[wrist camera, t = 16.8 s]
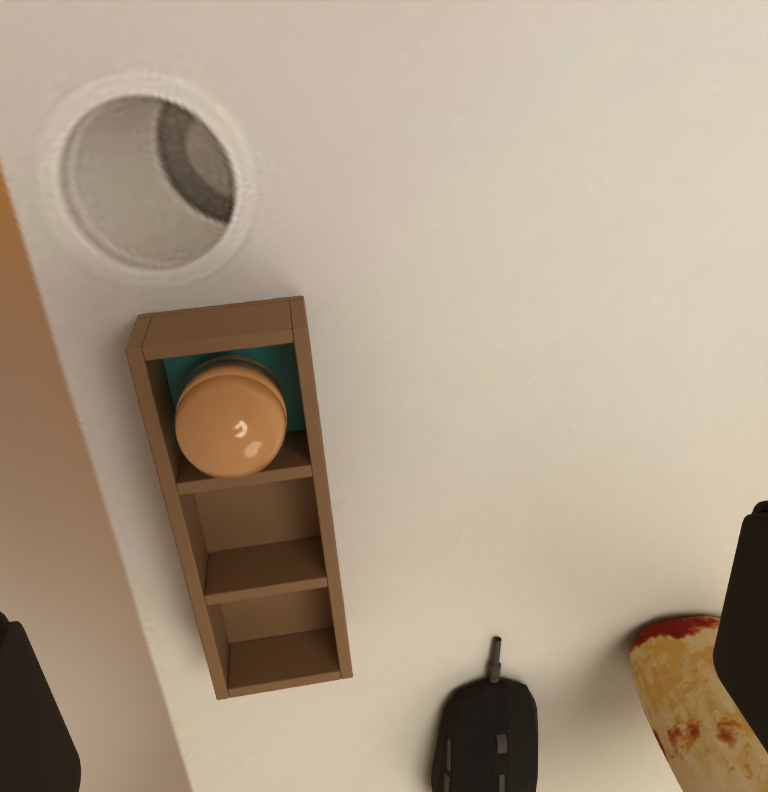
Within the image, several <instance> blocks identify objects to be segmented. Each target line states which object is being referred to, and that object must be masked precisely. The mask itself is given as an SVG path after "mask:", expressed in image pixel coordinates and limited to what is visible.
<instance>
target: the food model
mask: <svg viewBox="0 0 768 792" xmlns="http://www.w3.org/2000/svg"><path fill="white" fill-rule="evenodd" d="M720 619H721V618H717V617H711V616H698V617H685V618H678V619H671V620H667V621H663V622H660V623H656V624H652V625H651V626H649V627H648V628H646V629H645V630H643V631H641V632H640V633H639V635H638V637H637V639H636V641H635V643H634V645H633V646H632V648H631V650H630V664H631V669H632V674H633V678H634V681H635V685H636V688H637V692H638V695H639V698H640V701H641V704H642V707H643V710H644V713H645V715H646V717H647V720H648V722H649V724H650V726H651V728H652V730H653V733H654V735H655V737H656V739H657V741H658V743H659V745H660V747H661V749H662V751H663V753H664V755H665V757H666V759H667V761H668V763H669V765H670V767H671V769H672V771H673V773H674V775H675V777H676V779H677V781H678V783H679V785H680V786H681V788H682V790H683V792H768V753H767V752H766V750H765V749H764V747H763V746H762V744H761V743H760V741H759V740H758V738H757V736H756V735H755V733H754V732H753V730H752V729H751V727H750V726H749V724H748V723H747V721H746V720H745V718H744V717H743V715H742V714H741V712H740V711H739V709H738V707H737V706H736V704H735V703H734V701H733V700H732V698H731V697H730V695H729V694H728V692H727V691H726V689H725V688H724V686H723V685H722V683H721V681H720V680H719V678H718V676H717V673H716V671H715V667H714V663H713V649H714V645H715V641H716V636H717V632H718V627H719V623H720Z"/></svg>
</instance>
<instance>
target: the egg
mask: <svg viewBox="0 0 768 792" xmlns="http://www.w3.org/2000/svg"><path fill="white" fill-rule="evenodd" d="M174 427H175V436H176V439H177V442H178V445H179V448H180V450H181V451H182V453H183V455H184V456H185V458H186V459H187V460H188V461H189V462H190V463H191V464H192V465H193V466H194V467H196V468H197V469H198V470H200V471H201V472H203V473H205V474H207V475H209V476H212V477H215V478H219V479H227V480H231V479H241V478H246V477H248V476H251V475H254V474H256V473H257V472H259V471H261V470H262V469H264V468H265V467H267V466H268V465H269V464H270V463H271V462H272V461H273V460H274V458H275V457H276V456H277V454H278V453H279V451H280V449H281V447H282V445H283V443H284V440H285V435H286V429H287V415H286V400H285V395H284V392H283V388H282V386H281V384H280V382H279V380H278V378H277V377H276V376H275V375H274V373H273V372H272V371H271V370H270V369H269V368H268V367H267V366H265V365H264V364H263V363H261V362H260V361H258V360H256V359H254V358H251V357H248V356H245V355H239V354H225V355H220V356H216V357H213V358H211V359H208V360H207V361H205V362H203V363H202V364H200V365H199V366H198V367H196V368H195V369H194V370H193V371H192V372H191V373H190V375H189V376H188V378H187V379H186V380H185V382H184V385H183V387H182V389H181V392H180V395H179V399H178V404H177V409H176V414H175V425H174Z"/></svg>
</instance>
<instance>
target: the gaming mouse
mask: <svg viewBox="0 0 768 792" xmlns="http://www.w3.org/2000/svg"><path fill="white" fill-rule="evenodd" d="M500 647H501V638H500V637H495V639H494V650H493V661H491V662H490V671H489V674H490V676H489V680H490V681H482V682H480V683H477V684H475V685H473V686H470V687H468V688H465V689H463V690H461V691H458V692H457V693H456V694H455V695H454V697H453V698H452V699H451V700H450V702H449V703H448V704H447V705H446V707H445V708H444V710H443V714H442V719H441V723H440V727H439V733H438V739H437V746H436V752H435V756H434V761H433V766H432V774H431V784H432V791H433V792H536V786H537V778H538V719H537V707H536V703H535V700H534V698H533V696H532V694H531V693H530V691H529V689H528V687H527V685H524V684H520V683H516V682H512V681H509V680H505V679H503V680H499V675H500V669H501V663H500V662H499V657H500Z"/></svg>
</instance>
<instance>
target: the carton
mask: <svg viewBox="0 0 768 792" xmlns="http://www.w3.org/2000/svg"><path fill="white" fill-rule="evenodd" d="M125 351H126V355H127V359H128V363H129V367H130V370H131V374H132V378H133V382H134V386H135V389H136V393H137V397H138V401H139V405H140V408H141V412H142V416H143V420H144V424H145V427H146V431H147V435H148V439H149V443H150V447H151V450H152V454H153V458H154V462H155V466H156V469H157V473H158V477H159V481H160V485H161V488H162V492H163V496H164V500H165V504H166V507H167V511H168V515H169V519H170V523H171V527H172V530H173V534H174V538H175V542H176V546H177V549H178V553H179V557H180V561H181V565H182V568H183V572H184V576H185V580H186V584H187V587H188V591H189V595H190V599H191V603H192V606H193V610H194V614H195V618H196V622H197V626H198V629H199V633H200V637H201V641H202V645H203V648H204V652H205V656H206V660H207V664H208V667H209V671H210V675H211V679H212V683H213V686H214V690H215V694H216V698H217V700H221V699H227V698H229V697H230V698H232V697H238V696H244V695H250V694H256V693H262V692H268V691H274V690H280V689H286V688H292V687H298V686H304V685H310V684H316V683H322V682H328V681H334V680H340V679H346V678H352V677H353V673H352V665H351V657H350V650H349V642H348V634H347V626H346V619H345V611H344V603H343V595H342V587H341V580H340V572H339V564H338V556H337V549H336V541H335V533H334V525H333V518H332V510H331V502H330V494H329V487H328V479H327V471H326V463H325V455H324V448H323V440H322V432H321V424H320V417H319V409H318V401H317V393H316V386H315V378H314V370H313V362H312V355H311V347H310V339H309V331H308V324H307V317H306V310H305V303H304V297H303V296H297V297H288V298H280V299H271V300H263V301H254V302H245V303H237V304H228V305H220V306H211V307H203V308H194V309H185V310H177V311H168V312H160V313H151V314H143V315H139V316H138V318H137V321H136V323H135V326H134V328H133V331H132V333H131V336H130V338H129V341H128V343H127V346H126V348H125ZM225 354H239V355H245V356H248V357H251V358H254V359H256V360H258V361H260V362H261V363H263V364H264V365H265V366H267V367H268V368H269V369H270V370H271V371H272V372H273V373H274V375H275V376H276V377H277V378H278V380H279V382H280V384H281V386H282V388H283V392H284V395H285V400H286V415H287V429H286V435H285V440H284V443H283V445H282V447H281V449H280V451H279V453H278V454H277V456H276V457H275V458H274V460H273V461H272V462H271V463H270V464H269V465H268V466H267V467H265V468H264V469H262V470H261V471H259V472H257V473H256V474H254V475H251V476H248V477H246V478H241V479H231V480H227V479H219V478H215V477H212V476H209V475H207V474H205V473H203V472H201V471H200V470H198V469H197V468H196V467H194V466H193V465H192V464H191V463H190V462H189V461H188V460H187V459H186V458H185V456H184V455H183V453H182V451H181V450H180V448H179V445H178V442H177V439H176V436H175V427H174V425H175V414H176V409H177V404H178V399H179V395H180V392H181V389H182V387H183V385H184V382H185V380H186V379H187V378H188V376H189V375H190V373H191V372H192V371H193V370H194V369H195V368H196V367H198V366H199V365H200V364H202V363H203V362H205V361H207V360H208V359H211V358H213V357H216V356H220V355H225Z"/></svg>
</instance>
